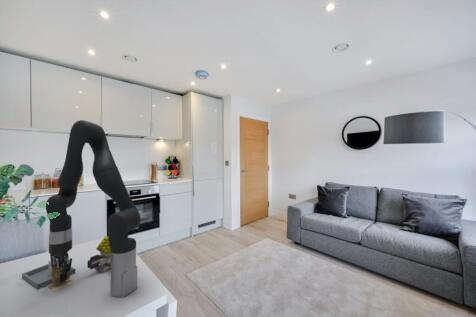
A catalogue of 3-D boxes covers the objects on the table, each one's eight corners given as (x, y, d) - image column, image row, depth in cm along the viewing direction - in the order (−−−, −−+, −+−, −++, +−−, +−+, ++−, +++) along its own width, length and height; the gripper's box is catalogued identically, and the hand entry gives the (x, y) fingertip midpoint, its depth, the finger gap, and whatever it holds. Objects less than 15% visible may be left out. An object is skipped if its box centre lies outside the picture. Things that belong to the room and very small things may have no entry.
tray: (75, 274, 93) (75, 268, 93) (37, 290, 81) (37, 284, 81) (58, 265, 100) (58, 260, 100) (22, 279, 89) (22, 273, 89)
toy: (82, 274, 93) (82, 242, 93) (110, 261, 105) (111, 233, 104) (93, 280, 89) (93, 247, 88) (122, 266, 100) (122, 236, 100)
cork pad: (74, 283, 87) (74, 281, 87) (53, 293, 80) (53, 291, 80) (66, 278, 90) (66, 277, 90) (46, 287, 83) (46, 286, 83)
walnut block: (69, 278, 86) (69, 264, 86) (56, 284, 82) (56, 269, 82) (64, 275, 88) (64, 261, 88) (51, 281, 84) (51, 266, 84)
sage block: (65, 271, 94) (65, 258, 94) (53, 276, 90) (53, 263, 90) (60, 268, 96) (60, 256, 96) (48, 273, 92) (48, 260, 92)
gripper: (79, 240, 85) (79, 279, 85) (63, 233, 91) (63, 270, 92) (57, 247, 78) (57, 289, 79) (41, 239, 85) (41, 279, 85)
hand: (60, 279), depth 85 cm, fingers closed on walnut block, 4 cm apart
